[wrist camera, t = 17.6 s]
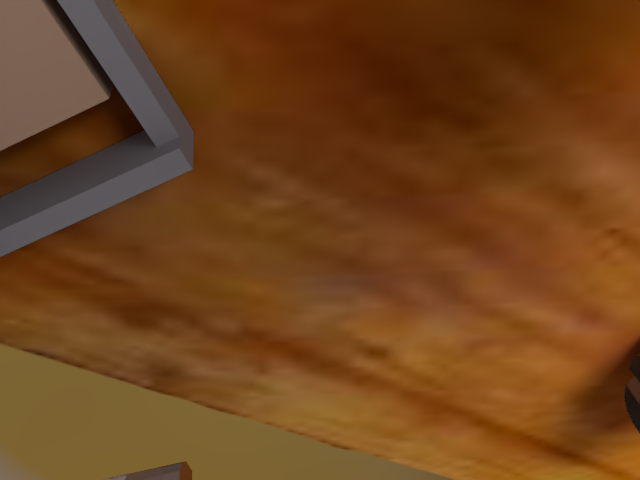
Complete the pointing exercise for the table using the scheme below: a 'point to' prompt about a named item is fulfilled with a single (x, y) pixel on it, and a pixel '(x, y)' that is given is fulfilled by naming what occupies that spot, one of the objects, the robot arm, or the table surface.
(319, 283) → the table surface
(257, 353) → the table surface
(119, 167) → the nook
